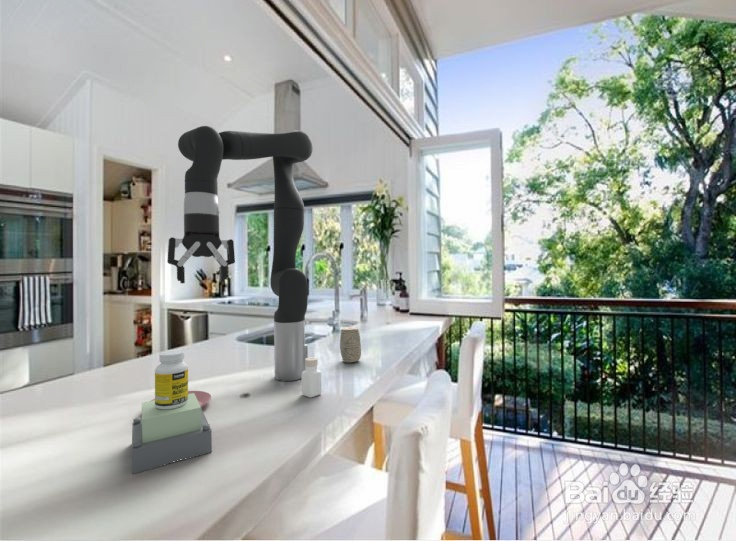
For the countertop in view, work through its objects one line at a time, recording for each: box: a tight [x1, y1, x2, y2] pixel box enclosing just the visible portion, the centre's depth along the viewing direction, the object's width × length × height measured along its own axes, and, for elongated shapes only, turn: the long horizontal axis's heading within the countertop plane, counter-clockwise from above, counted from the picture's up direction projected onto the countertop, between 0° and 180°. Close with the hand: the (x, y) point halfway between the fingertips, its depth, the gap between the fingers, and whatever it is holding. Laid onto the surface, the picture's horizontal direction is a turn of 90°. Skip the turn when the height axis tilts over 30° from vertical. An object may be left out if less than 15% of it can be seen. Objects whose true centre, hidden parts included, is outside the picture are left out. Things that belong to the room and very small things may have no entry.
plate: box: [150, 390, 212, 410], centre depth 83 cm, size 14×14×2 cm
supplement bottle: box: [154, 349, 189, 410], centre depth 65 cm, size 5×5×10 cm
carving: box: [339, 326, 362, 364], centre depth 124 cm, size 6×8×12 cm
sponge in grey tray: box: [131, 393, 213, 475], centre depth 65 cm, size 12×12×8 cm
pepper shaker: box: [301, 356, 323, 399], centre depth 92 cm, size 4×4×10 cm
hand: (202, 282), depth 82 cm, fingers open, 8 cm apart
